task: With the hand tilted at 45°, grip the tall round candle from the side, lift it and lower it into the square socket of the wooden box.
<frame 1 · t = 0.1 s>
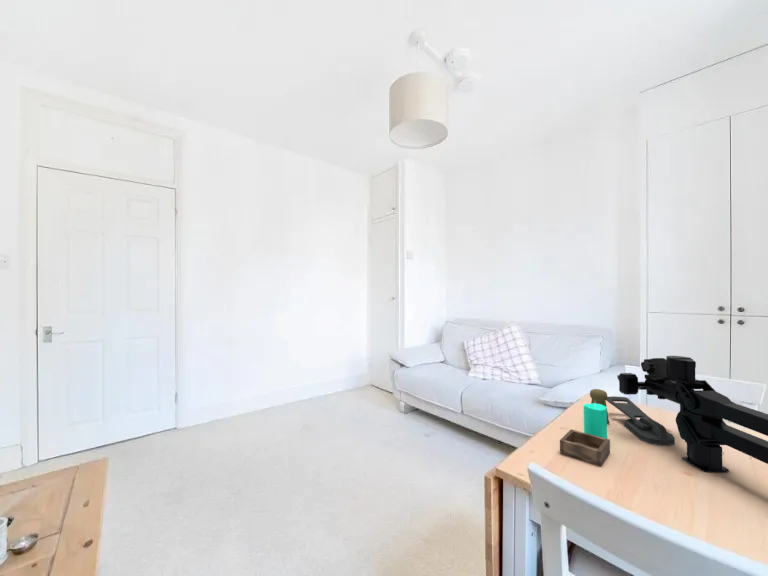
hand: (631, 376, 112), 17 cm above the table, tool horizontal, fingers open, 9 cm apart
candle: (595, 440, 102), on the table
cork: (598, 422, 116), on the table
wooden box: (585, 453, 94), on the table
zipper pull: (636, 428, 110), on the table
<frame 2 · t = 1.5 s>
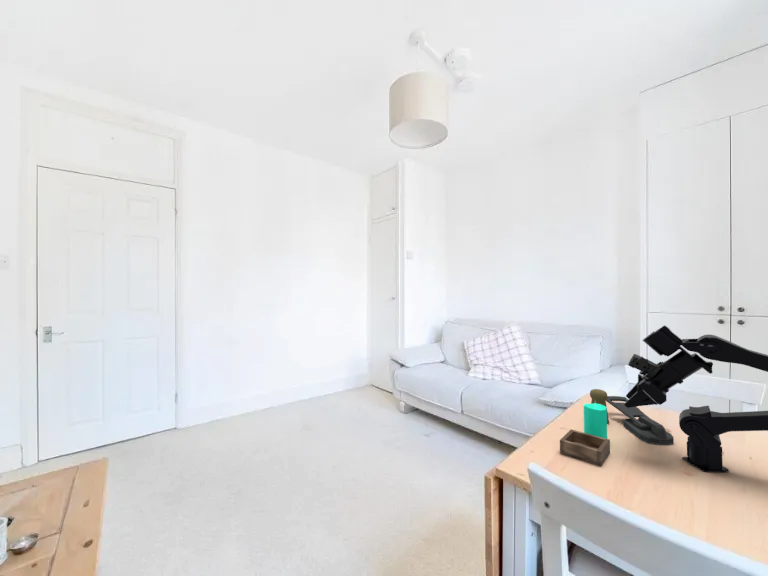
hand: (626, 401, 97), 13 cm above the table, tool tilted 45°, fingers open, 9 cm apart
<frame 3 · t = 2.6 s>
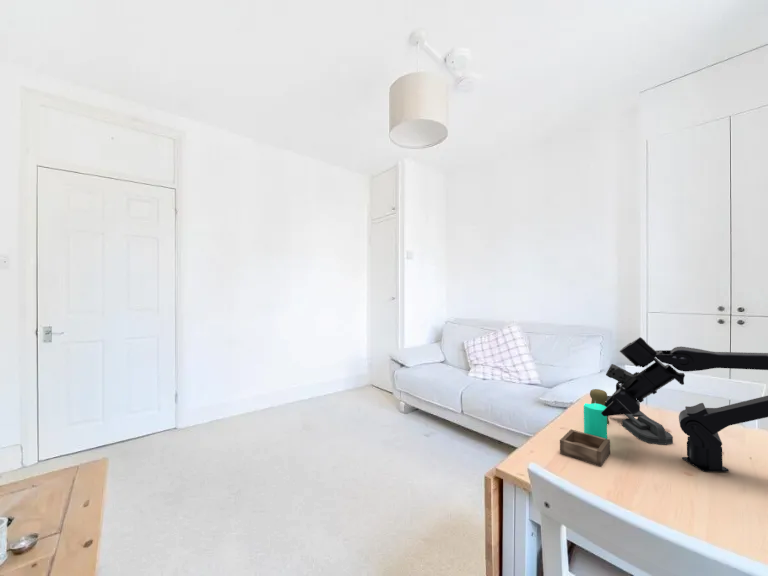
hand: (604, 409, 100), 10 cm above the table, tool tilted 45°, fingers open, 9 cm apart
nothing on the table moved.
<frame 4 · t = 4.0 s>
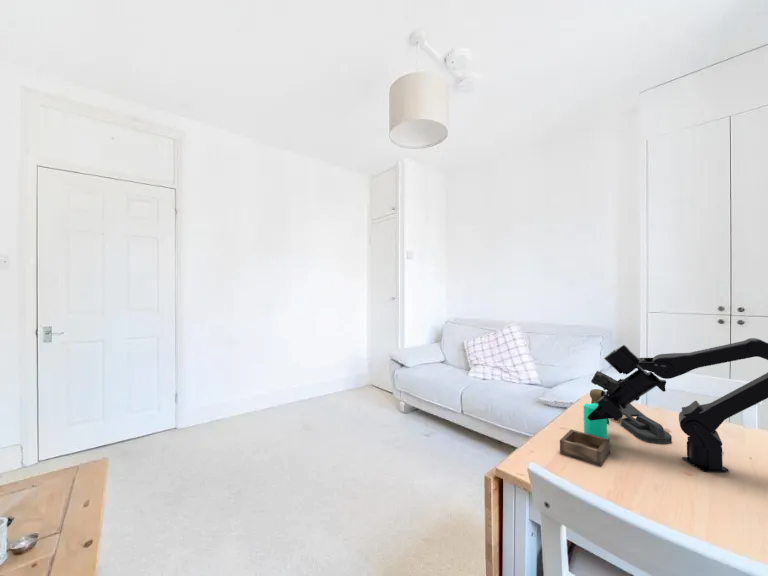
hand: (589, 415, 103), 7 cm above the table, tool tilted 45°, fingers closed on candle, 5 cm apart
candle: (595, 440, 102), on the table, touching gripper
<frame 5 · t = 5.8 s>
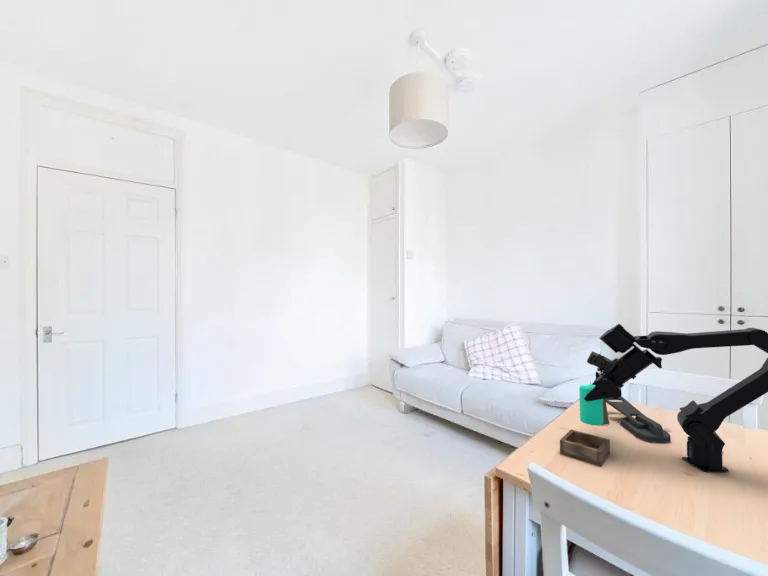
hand: (585, 397, 101), 13 cm above the table, tool tilted 45°, fingers closed on candle, 5 cm apart
candle: (591, 422, 100), point 6 cm above the table, touching gripper
when the fingers open (9 cm above the table, at t = 7.9 s): candle drops 1 cm, resting on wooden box.
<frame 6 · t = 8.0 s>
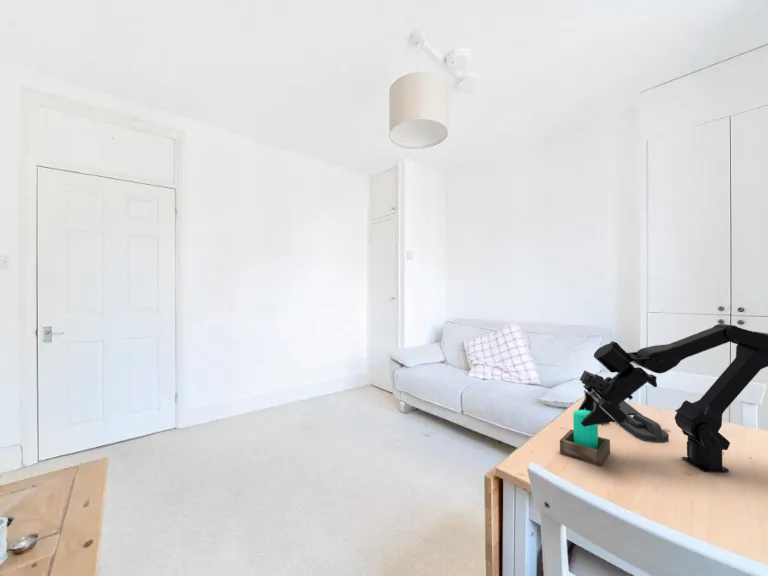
hand: (579, 420, 94), 9 cm above the table, tool tilted 45°, fingers open, 6 cm apart
candle: (585, 450, 94), point 1 cm above the table, touching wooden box, gripper
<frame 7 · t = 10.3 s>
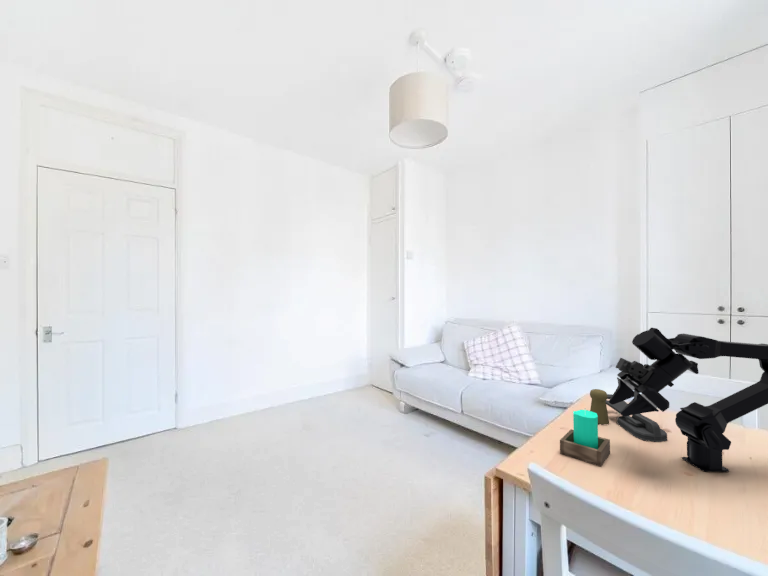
hand: (615, 408, 91), 13 cm above the table, tool tilted 45°, fingers open, 9 cm apart
candle: (585, 450, 94), point 1 cm above the table, touching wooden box
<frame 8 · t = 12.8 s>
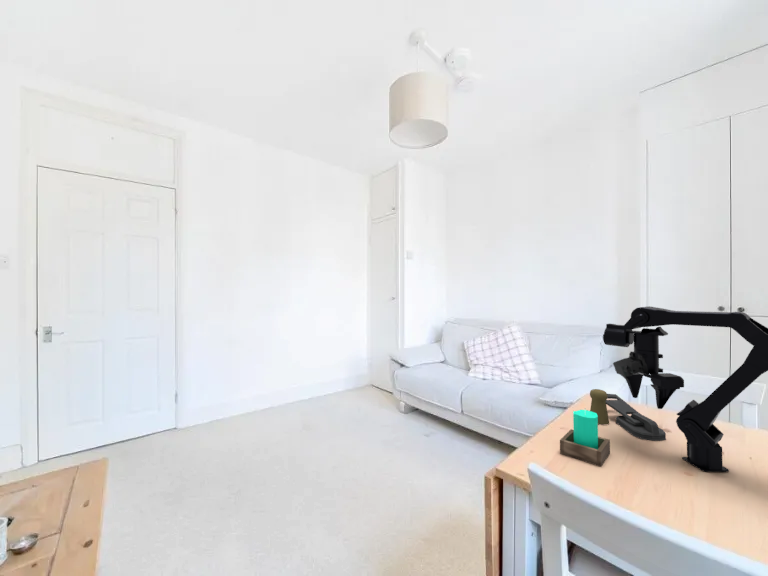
hand: (646, 402, 97), 13 cm above the table, tool pointing down, fingers open, 9 cm apart
at the end: candle 0.3 cm off-centre on the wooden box, point 0.6 cm above the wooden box's base; candle tilted 0°; the gripper is holding nothing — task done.
